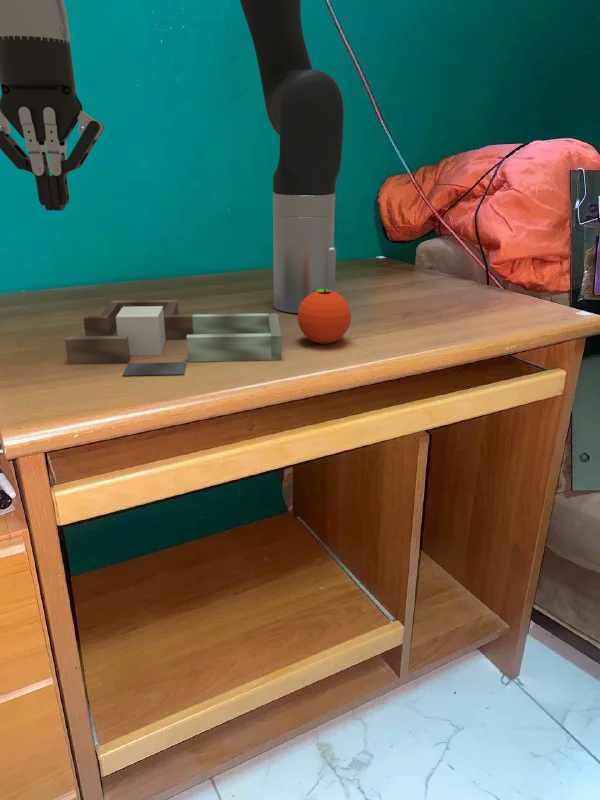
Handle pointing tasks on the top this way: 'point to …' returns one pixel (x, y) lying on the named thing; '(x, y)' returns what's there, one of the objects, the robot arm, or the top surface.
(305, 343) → the top surface
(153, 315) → the cream block
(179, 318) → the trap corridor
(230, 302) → the top surface
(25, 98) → the robot arm
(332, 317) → the clementine
